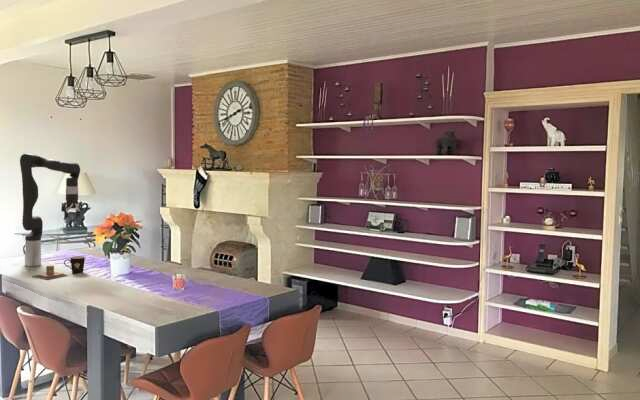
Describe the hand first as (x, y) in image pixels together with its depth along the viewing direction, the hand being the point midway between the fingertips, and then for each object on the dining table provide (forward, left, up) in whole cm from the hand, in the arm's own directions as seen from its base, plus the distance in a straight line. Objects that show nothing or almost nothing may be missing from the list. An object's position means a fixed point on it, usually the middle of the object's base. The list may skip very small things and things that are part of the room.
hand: (72, 217), depth 352 cm
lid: (+10, -24, -34) cm, 42 cm away
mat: (+10, -24, -34) cm, 43 cm away
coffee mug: (+13, -8, -34) cm, 38 cm away
